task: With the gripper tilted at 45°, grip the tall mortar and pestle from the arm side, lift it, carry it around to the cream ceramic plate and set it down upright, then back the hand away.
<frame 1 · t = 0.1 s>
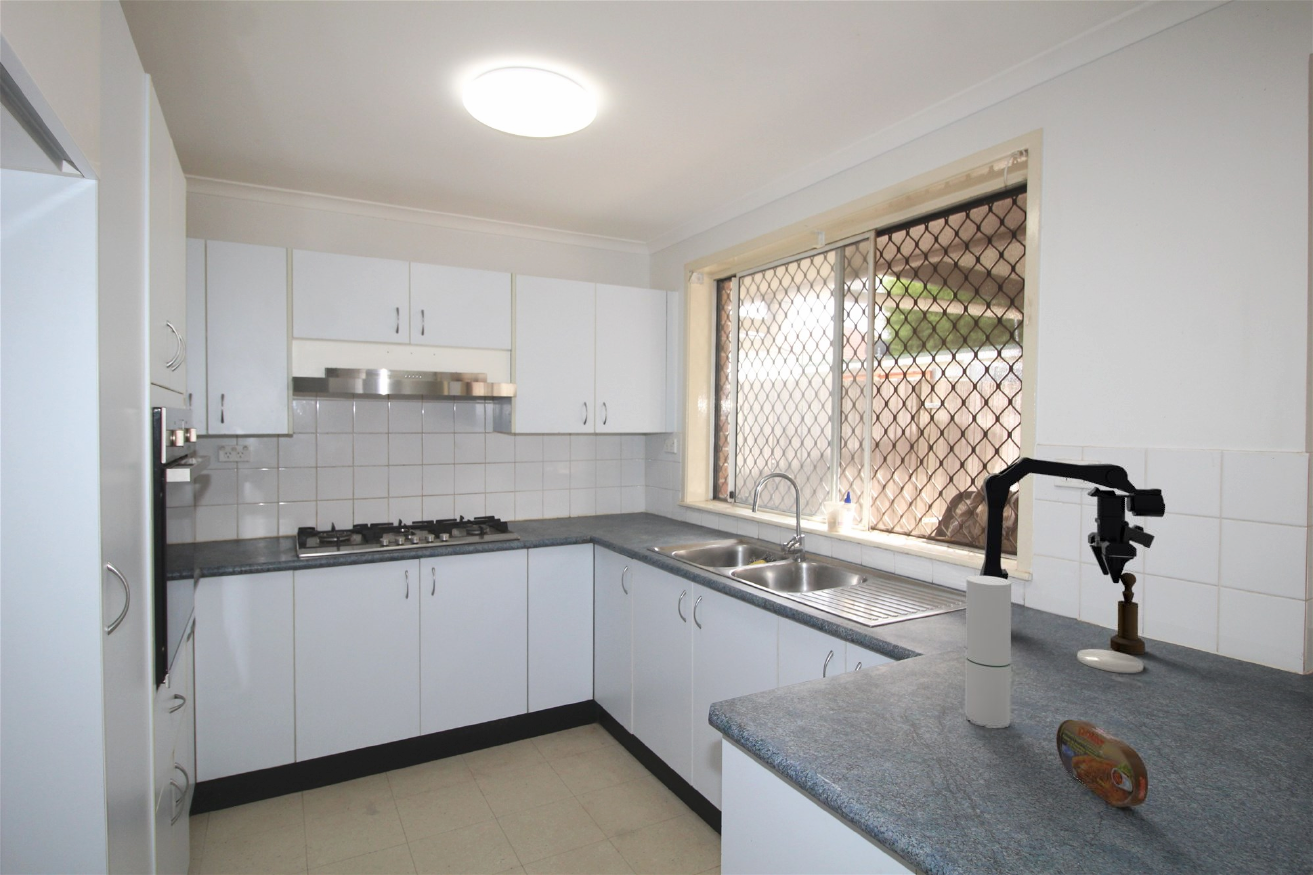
hand: (1110, 578, 163), 15 cm above the countertop, tool pointing down, fingers open, 9 cm apart
tin: (1099, 790, 96), on the countertop
cream plate: (1109, 662, 147), on the countertop
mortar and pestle: (1127, 650, 155), on the countertop
cylindrical container: (987, 720, 119), on the countertop
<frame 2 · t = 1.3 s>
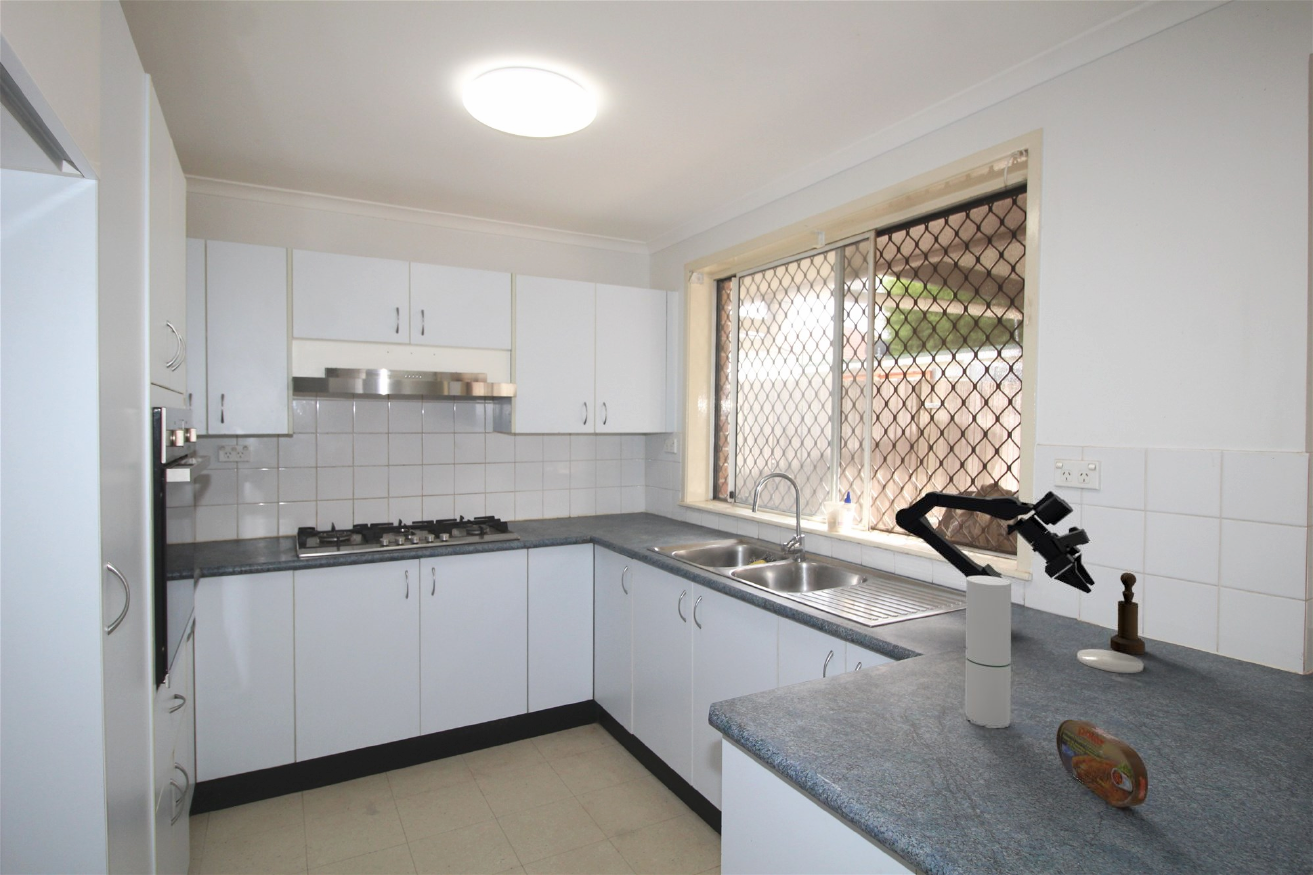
hand: (1091, 588, 159), 13 cm above the countertop, tool tilted 45°, fingers open, 9 cm apart
nothing on the countertop moved.
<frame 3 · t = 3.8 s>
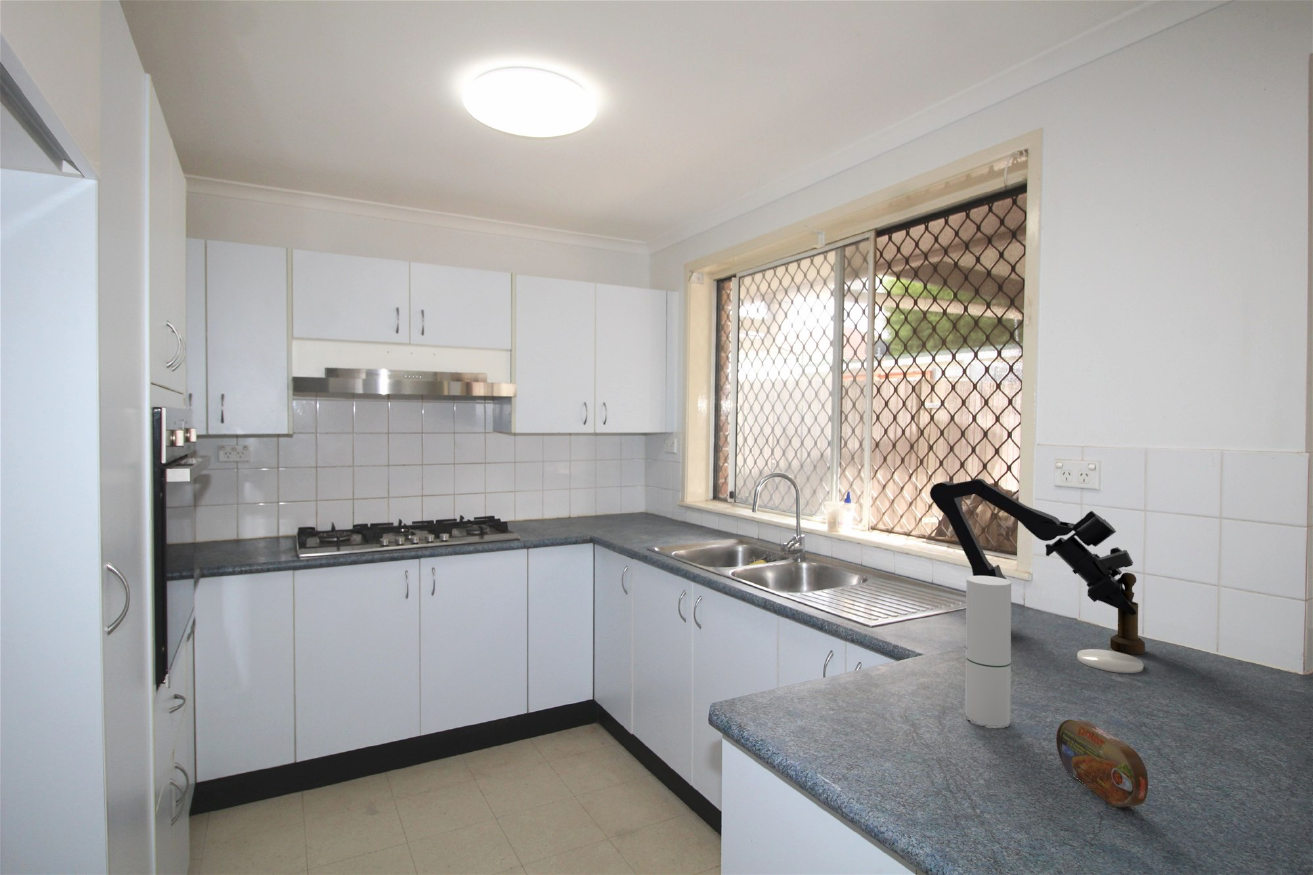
hand: (1135, 612, 154), 9 cm above the countertop, tool tilted 45°, fingers closed on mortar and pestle, 4 cm apart
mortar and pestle: (1127, 650, 155), on the countertop, touching gripper
everything else where it was.
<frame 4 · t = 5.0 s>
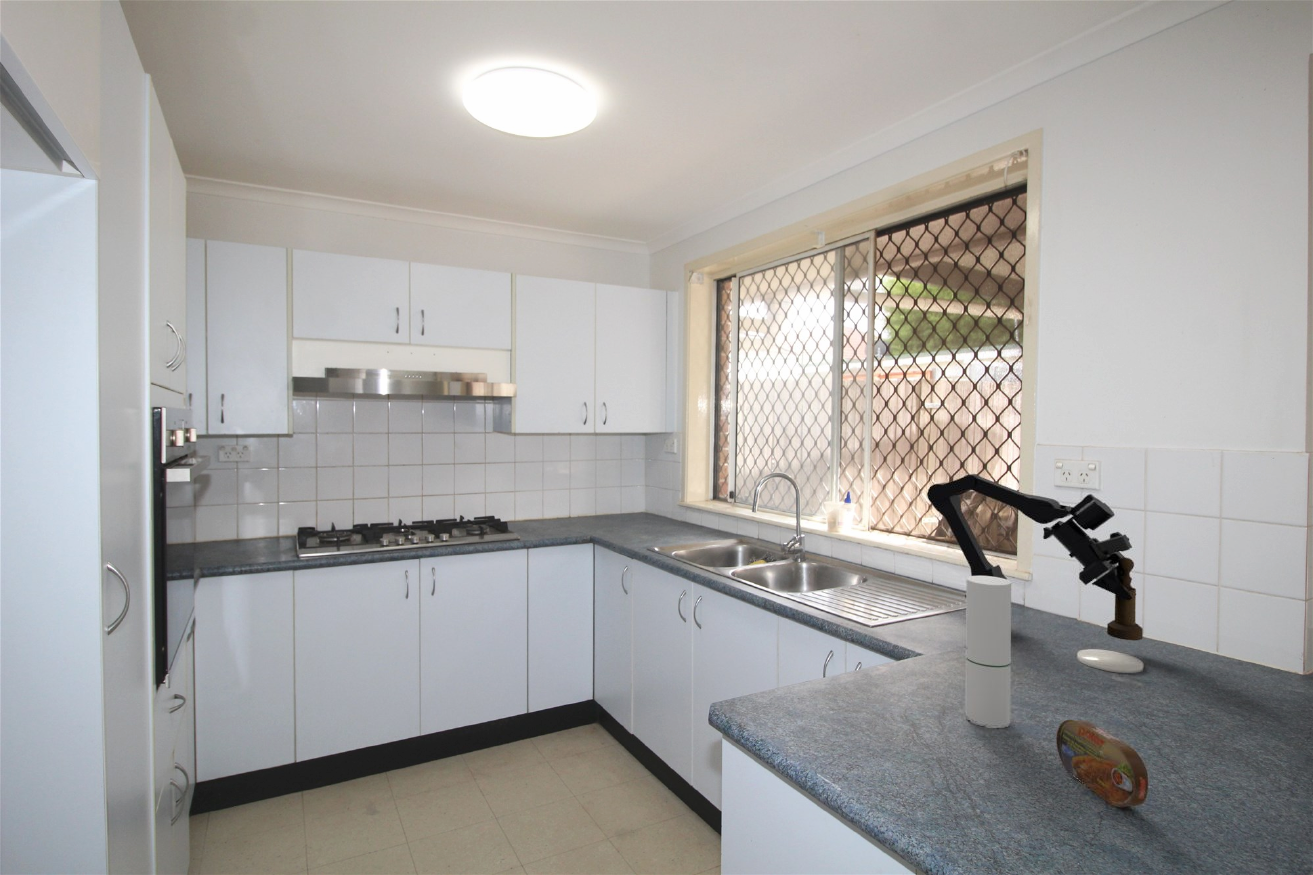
hand: (1132, 597, 151), 13 cm above the countertop, tool tilted 45°, fingers closed on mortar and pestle, 4 cm apart
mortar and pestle: (1124, 636, 152), point 4 cm above the countertop, touching gripper
everything else where it was.
when the fingers open (11 cm above the countertop, at t = 6.5 s): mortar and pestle stays where it is, resting on cream plate.
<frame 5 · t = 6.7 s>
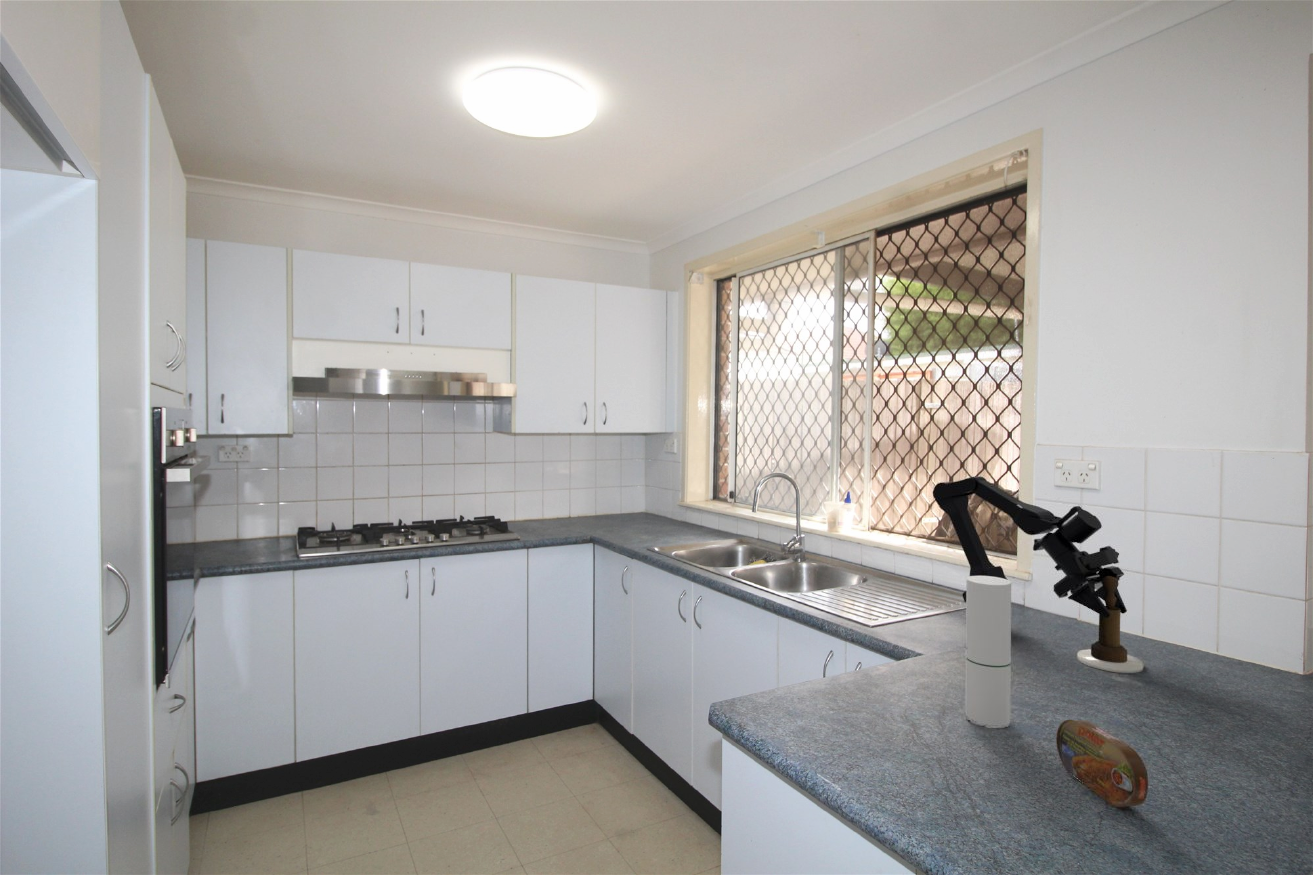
hand: (1117, 614, 145), 11 cm above the countertop, tool tilted 45°, fingers open, 6 cm apart
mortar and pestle: (1108, 658, 147), point 1 cm above the countertop, touching cream plate
everything else where it was.
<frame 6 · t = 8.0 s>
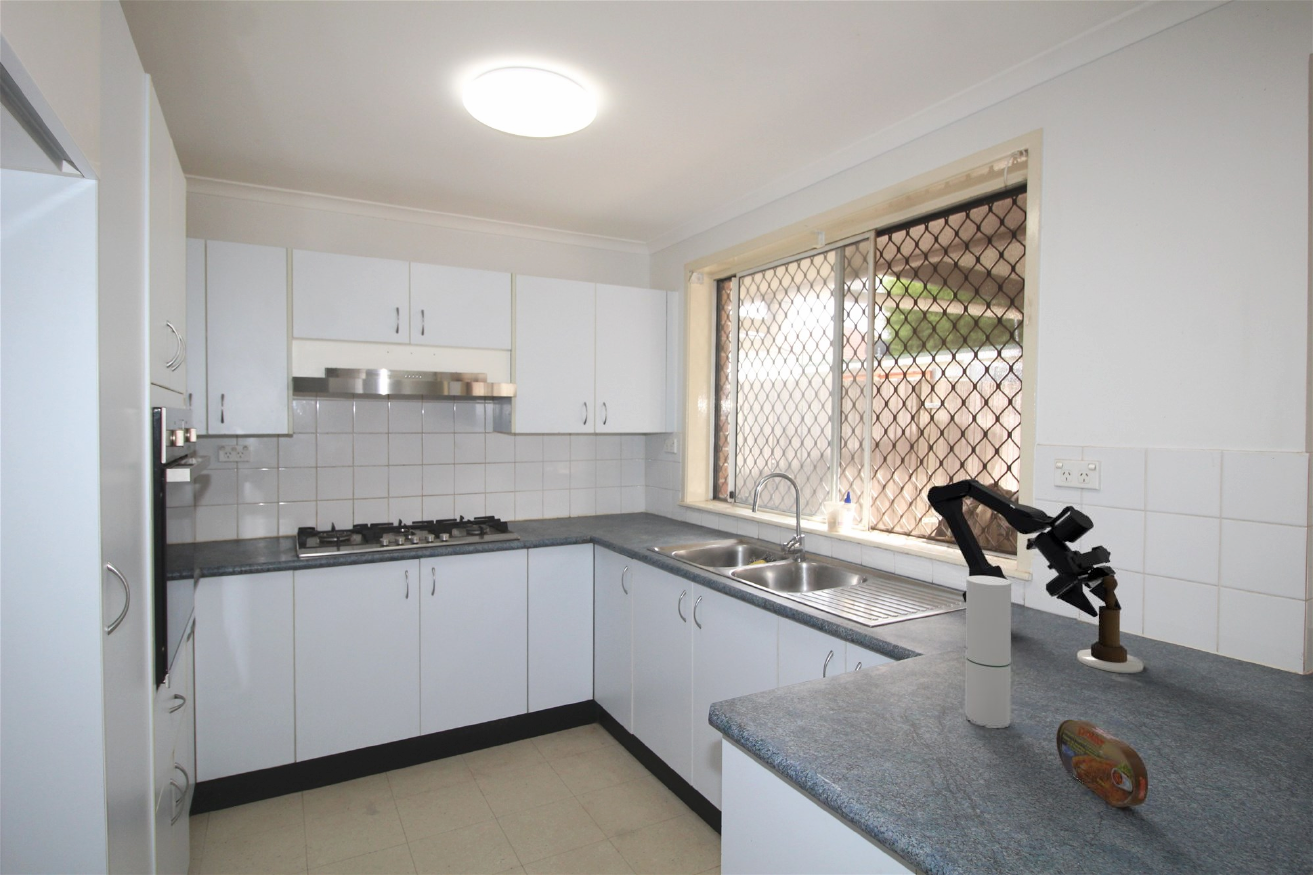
hand: (1108, 613, 147), 11 cm above the countertop, tool tilted 45°, fingers open, 9 cm apart
nothing on the countertop moved.
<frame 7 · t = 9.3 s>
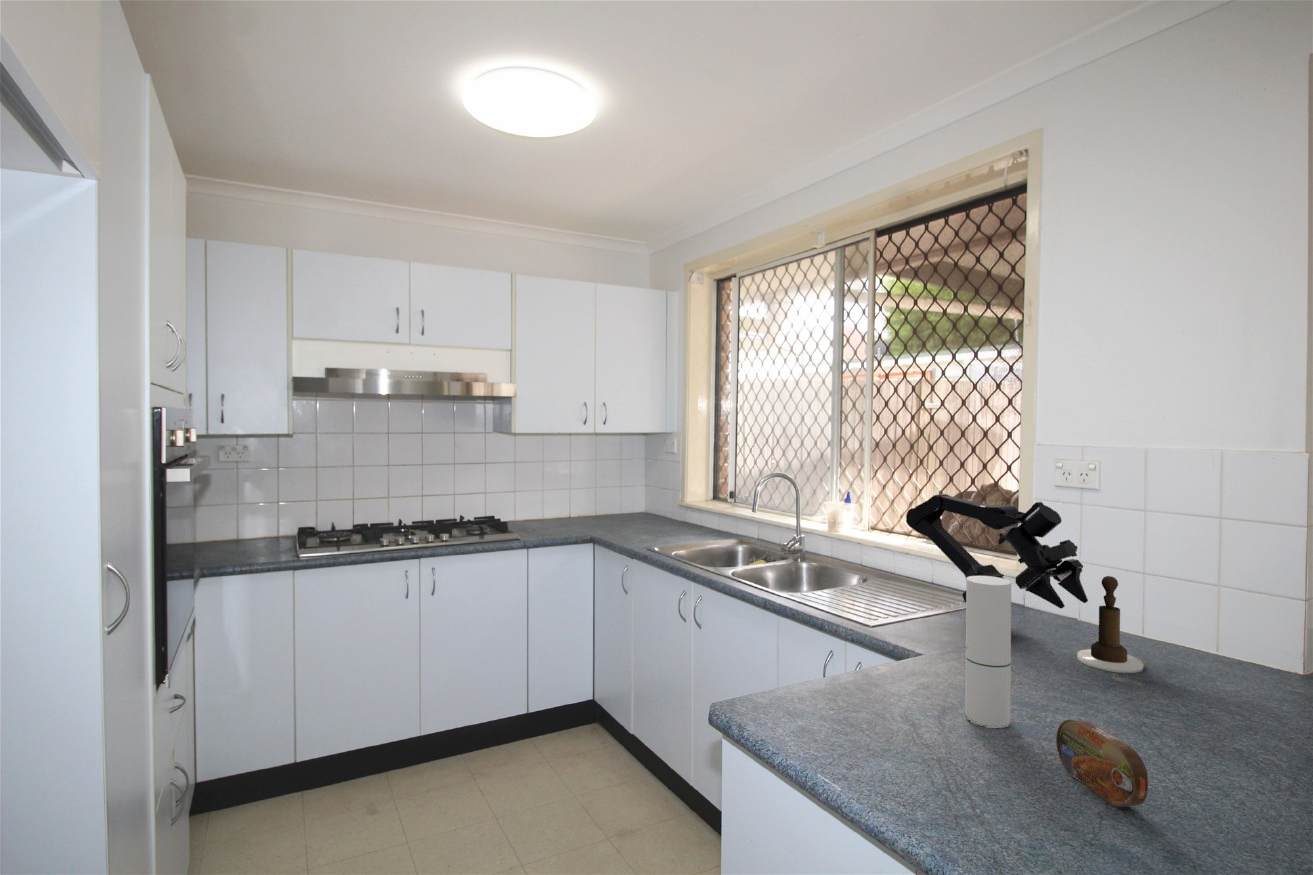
hand: (1074, 604, 153), 11 cm above the countertop, tool tilted 45°, fingers open, 9 cm apart
nothing on the countertop moved.
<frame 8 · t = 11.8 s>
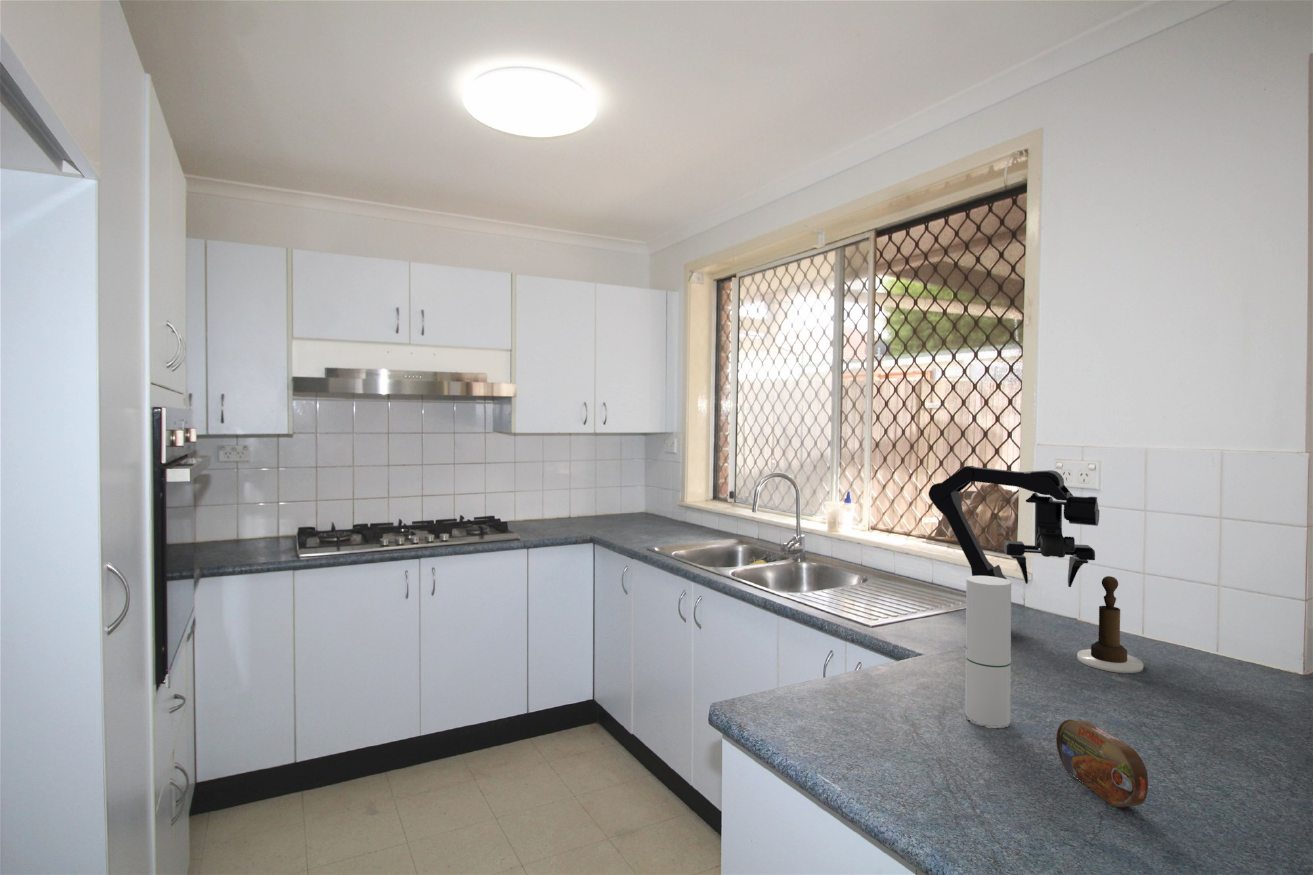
hand: (1047, 585, 164), 13 cm above the countertop, tool pointing down, fingers open, 9 cm apart
nothing on the countertop moved.
at the end: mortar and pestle inside the target area on the cream plate (0.2 cm from its centre), point 0.8 cm above the cream plate's base; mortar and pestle tilted 0°; the gripper is holding nothing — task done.
